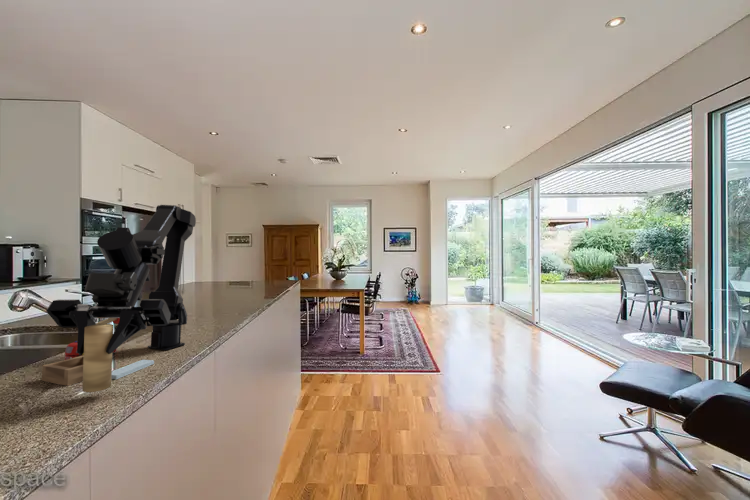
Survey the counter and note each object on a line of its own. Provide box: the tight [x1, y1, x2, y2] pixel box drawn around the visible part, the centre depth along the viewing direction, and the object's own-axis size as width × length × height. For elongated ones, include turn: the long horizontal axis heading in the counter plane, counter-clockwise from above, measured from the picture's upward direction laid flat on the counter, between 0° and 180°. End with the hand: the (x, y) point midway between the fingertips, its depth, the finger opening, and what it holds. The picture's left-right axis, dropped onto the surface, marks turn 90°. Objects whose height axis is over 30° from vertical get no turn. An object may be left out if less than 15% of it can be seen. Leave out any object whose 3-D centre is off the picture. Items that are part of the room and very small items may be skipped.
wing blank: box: [111, 359, 155, 380], centre depth 74 cm, size 10×3×1 cm, turn 173°
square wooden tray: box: [41, 355, 84, 387], centre depth 70 cm, size 8×8×3 cm
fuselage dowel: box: [81, 323, 114, 393], centre depth 61 cm, size 4×4×11 cm
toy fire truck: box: [64, 318, 120, 360], centre depth 84 cm, size 3×14×10 cm, turn 162°
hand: (93, 353), depth 59 cm, fingers closed on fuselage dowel, 4 cm apart
